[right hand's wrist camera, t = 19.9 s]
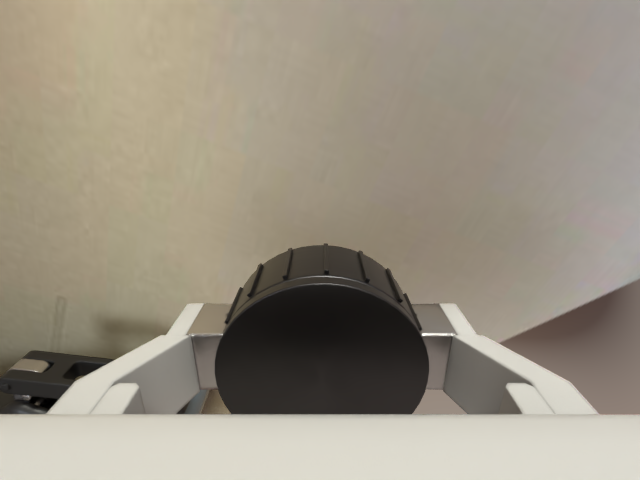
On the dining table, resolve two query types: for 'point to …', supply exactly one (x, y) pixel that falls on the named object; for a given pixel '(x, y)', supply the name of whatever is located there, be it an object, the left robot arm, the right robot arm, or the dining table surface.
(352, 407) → the lid
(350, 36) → the dining table surface
